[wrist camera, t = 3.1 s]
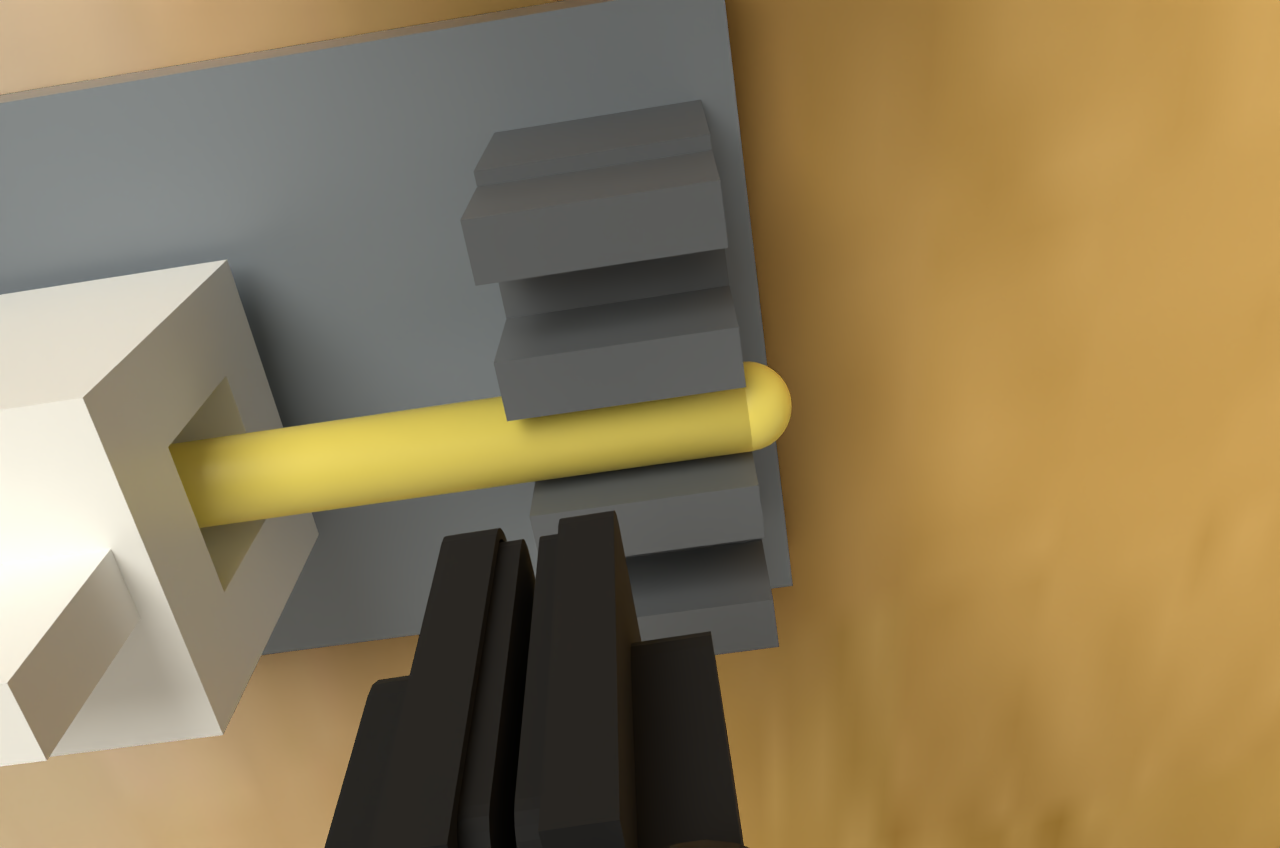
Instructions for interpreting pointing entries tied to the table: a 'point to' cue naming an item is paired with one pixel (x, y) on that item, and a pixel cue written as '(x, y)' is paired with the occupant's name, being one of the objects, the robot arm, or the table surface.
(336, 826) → the robot arm
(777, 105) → the table surface
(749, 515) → the board
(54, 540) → the sleeve
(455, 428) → the fibre cord
